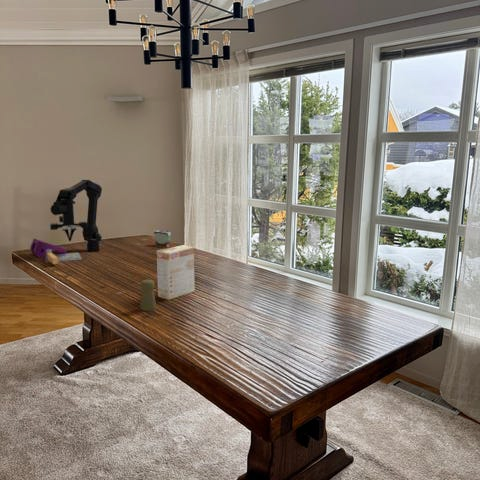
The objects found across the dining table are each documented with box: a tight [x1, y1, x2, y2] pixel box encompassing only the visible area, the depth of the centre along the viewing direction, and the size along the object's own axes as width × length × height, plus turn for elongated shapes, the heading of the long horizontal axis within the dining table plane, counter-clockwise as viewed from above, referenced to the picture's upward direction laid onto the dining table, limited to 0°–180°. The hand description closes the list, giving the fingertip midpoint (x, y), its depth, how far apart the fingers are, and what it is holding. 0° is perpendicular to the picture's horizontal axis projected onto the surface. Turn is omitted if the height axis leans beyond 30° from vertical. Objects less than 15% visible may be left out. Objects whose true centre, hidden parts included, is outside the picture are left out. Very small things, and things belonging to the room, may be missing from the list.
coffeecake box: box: [156, 244, 196, 301], centre depth 181 cm, size 15×7×20 cm, turn 141°
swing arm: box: [46, 249, 59, 265], centre depth 231 cm, size 17×3×5 cm, turn 35°
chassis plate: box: [44, 252, 82, 263], centre depth 243 cm, size 18×14×1 cm
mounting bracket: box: [29, 238, 68, 258], centre depth 251 cm, size 9×8×18 cm
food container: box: [153, 229, 172, 249], centre depth 275 cm, size 12×6×10 cm, turn 58°
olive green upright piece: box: [139, 279, 157, 312], centre depth 165 cm, size 6×6×11 cm
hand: (70, 241), depth 240 cm, fingers closed
